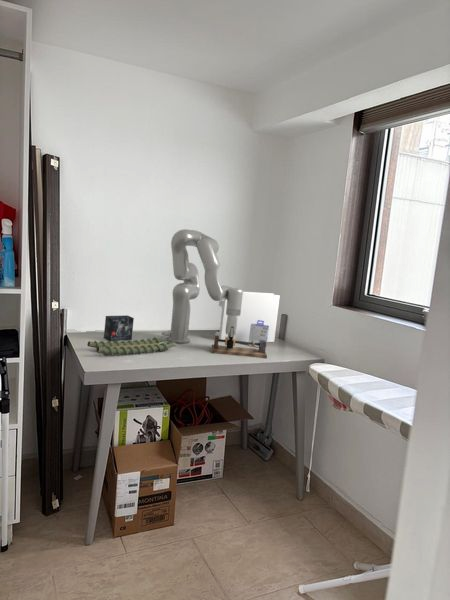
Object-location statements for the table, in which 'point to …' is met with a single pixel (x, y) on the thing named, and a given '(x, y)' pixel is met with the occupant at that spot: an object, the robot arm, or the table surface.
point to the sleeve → (227, 339)
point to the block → (252, 315)
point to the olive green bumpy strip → (131, 346)
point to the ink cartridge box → (258, 333)
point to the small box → (118, 328)
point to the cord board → (240, 349)
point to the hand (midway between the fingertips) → (229, 346)
